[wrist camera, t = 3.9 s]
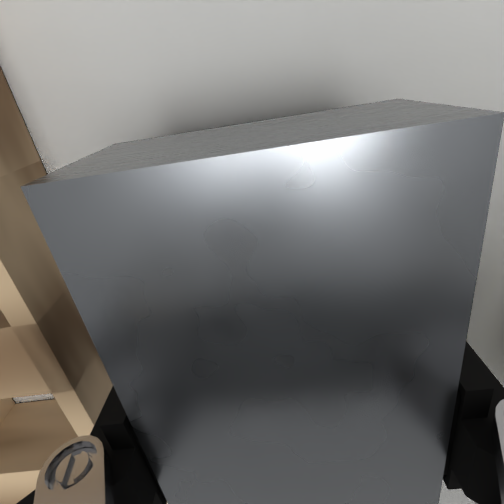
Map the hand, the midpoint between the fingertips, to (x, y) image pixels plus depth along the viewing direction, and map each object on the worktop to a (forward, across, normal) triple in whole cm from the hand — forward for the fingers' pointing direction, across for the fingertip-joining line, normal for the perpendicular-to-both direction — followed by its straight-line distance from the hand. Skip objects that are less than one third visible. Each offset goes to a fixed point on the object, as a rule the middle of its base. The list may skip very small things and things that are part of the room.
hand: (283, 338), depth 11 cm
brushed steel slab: (+3, 0, 0) cm, 3 cm away
